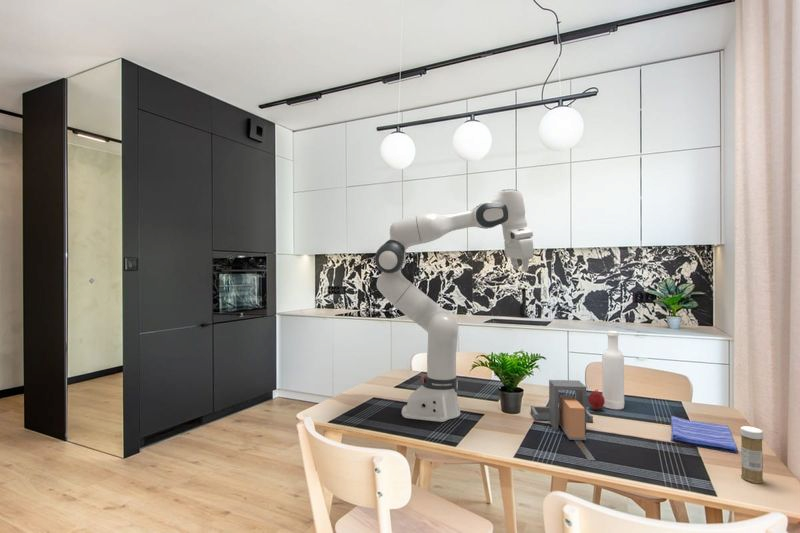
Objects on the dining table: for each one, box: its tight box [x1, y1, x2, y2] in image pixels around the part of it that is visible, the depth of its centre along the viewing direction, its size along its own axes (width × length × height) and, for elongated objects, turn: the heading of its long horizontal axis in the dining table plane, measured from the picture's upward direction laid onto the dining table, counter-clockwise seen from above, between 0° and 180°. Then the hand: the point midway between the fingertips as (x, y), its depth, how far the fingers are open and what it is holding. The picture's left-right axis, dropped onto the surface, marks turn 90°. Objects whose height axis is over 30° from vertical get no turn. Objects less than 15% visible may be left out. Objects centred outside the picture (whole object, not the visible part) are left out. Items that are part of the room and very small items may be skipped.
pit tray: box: [530, 405, 594, 424], centre depth 158 cm, size 20×9×2 cm, turn 83°
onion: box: [587, 388, 605, 411], centre depth 166 cm, size 6×6×8 cm
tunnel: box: [548, 379, 587, 432], centre depth 149 cm, size 10×8×15 cm
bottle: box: [601, 330, 625, 410], centre depth 170 cm, size 8×8×30 cm
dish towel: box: [670, 415, 739, 454], centre depth 141 cm, size 17×24×3 cm
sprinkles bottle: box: [739, 425, 764, 484], centre depth 112 cm, size 5×5×14 cm
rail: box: [573, 440, 597, 462], centre depth 138 cm, size 2×30×1 cm, turn 173°
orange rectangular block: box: [558, 394, 587, 441], centre depth 144 cm, size 5×14×10 cm, turn 173°
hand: (520, 270), depth 157 cm, fingers open, 8 cm apart
